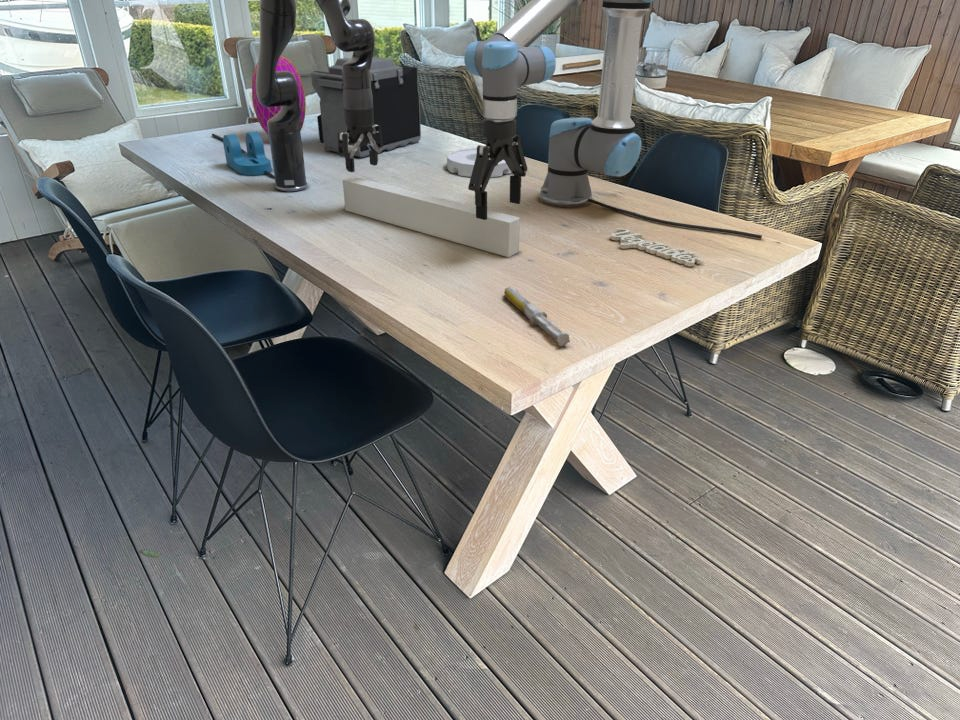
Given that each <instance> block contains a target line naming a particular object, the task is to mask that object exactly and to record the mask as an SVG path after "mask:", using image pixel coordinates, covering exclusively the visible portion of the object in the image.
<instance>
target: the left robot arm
mask: <svg viewBox="0 0 960 720" xmlns="http://www.w3.org/2000/svg"><path fill="white" fill-rule="evenodd" d="M315 2H316V4H317V5H318V7H319V9H320V10H321V12H322V13H323V16H324V18H325V21H326V22H325V23H326V24H327V28H328V31H329V35H330V38H331V40H332V42H333V44H334V45H335V47H336V48H337V49H339V50H340V51H342V52H345V53H350V52H352V54H351V55H352V56H351V57H350V58H351V59H350V60H349V61H347V62H345V63H344V64H343V66H342V78H343V104H344V117H345V124H346V125H347V132H345V133H342V132H338V152H337V154H338V156H340V157H343V158H344V160H345V169H346V171H347V172H348V173H354V172H355V171H356V169H355V156H354V154H355V151H357V150H358V148H359V147H361V146H363V145H367V146H368V148H369V149H370V151H369V155H368V158H369V164H370V165H371V166H374V167H375V166H377V165H378V163H379V153H378V150H379V148H380V147H381V148H382V147H383V138H382V127H381V125H376V124H374V114H373V96H372V91H371V78H370V67H371V63H372V57H374V51H375V46H376V35H375V30H374V27H373V26H372V24H371V23H370V21H368V20H367V19H365V18H354V19H353V18H352V19H348V18H346V17H347V16H348V15H349V13H350V11H351V8H352V7H351V2H350V0H315ZM296 22H297V1H296V0H259V44H258V46H259V47H258V58H257V62H258V65H257V64H256V65H257V74H256V93H257V97H258V100H259V102H260V104H261V105H262V106H264V107H278V106H281V109H280V111H279V112H278V113H277V114H276V115H275V116H274V117H272V118H271V119H269V120H268V122H267V127H268V134H269V135H268V140H269V146H270V155H271V162H272V168H273V173H271V172H268V171H266V170H265V172H264V173H265V174H264V175H267V176H269V177H270V178H271V179H273V180H274V182H275V183H274V184H275V186H274V187H275V190H277V191H280V192H285V193H287V192H288V193H289V192H291V193H292V192H298V191H303V190H305V189H307V188H308V183H307V176H306V165H305V157H304V150H303V141H302V135H301V134H302V133H301V131H300V106H299V91H298V85H297V81H296V79H295V77H294V75H293V74H292V73H291V72H289V71H277V72H276V67H277V63H278V60H279V58H280V56H282V54H283V53H284V51H285V49H286V47H288V45H289V43H290V42H291V39H292V38H293V36H294V34H295V30H296V25H297V23H296ZM372 134H373V137H372ZM211 137H214V138H215V139H218V140H221V142H223V137H222V136H220V135H217V134H215V133H211ZM377 138H378V139H377ZM351 144H353V145H354V146H352V145H351ZM241 150H242V153H247V151H245V150H244V149H243V148H241ZM350 150H351V151H350ZM349 152H350V153H349Z"/></svg>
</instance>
